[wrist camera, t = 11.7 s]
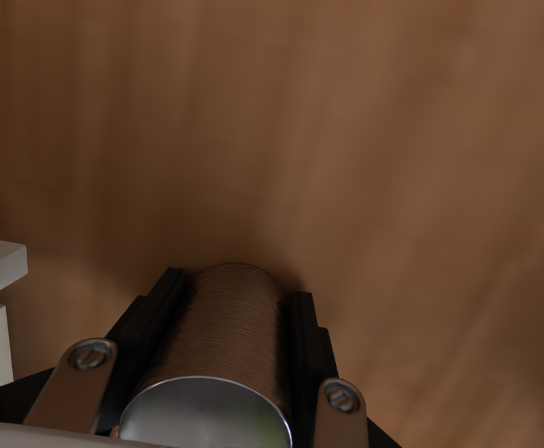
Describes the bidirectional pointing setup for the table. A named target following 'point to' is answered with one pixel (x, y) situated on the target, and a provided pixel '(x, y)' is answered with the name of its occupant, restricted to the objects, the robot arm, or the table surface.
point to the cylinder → (218, 368)
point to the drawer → (3, 271)
